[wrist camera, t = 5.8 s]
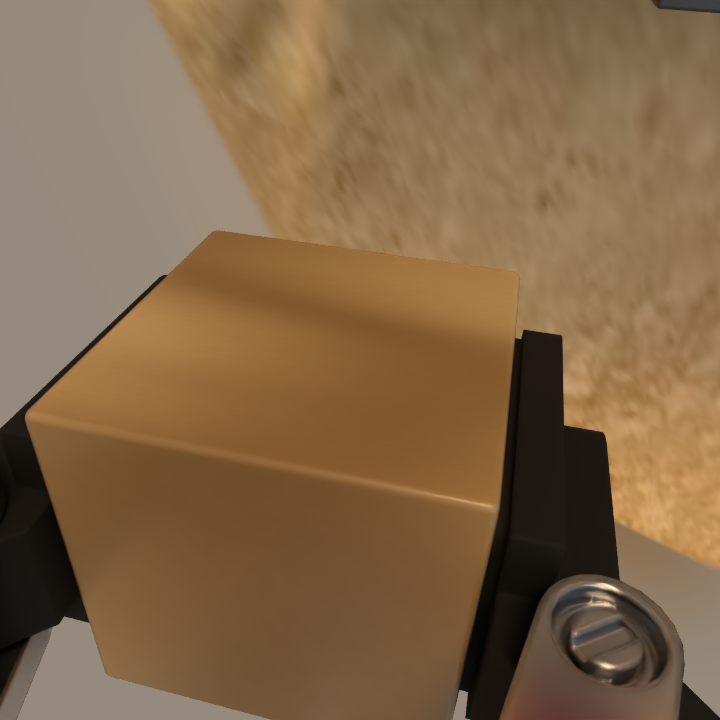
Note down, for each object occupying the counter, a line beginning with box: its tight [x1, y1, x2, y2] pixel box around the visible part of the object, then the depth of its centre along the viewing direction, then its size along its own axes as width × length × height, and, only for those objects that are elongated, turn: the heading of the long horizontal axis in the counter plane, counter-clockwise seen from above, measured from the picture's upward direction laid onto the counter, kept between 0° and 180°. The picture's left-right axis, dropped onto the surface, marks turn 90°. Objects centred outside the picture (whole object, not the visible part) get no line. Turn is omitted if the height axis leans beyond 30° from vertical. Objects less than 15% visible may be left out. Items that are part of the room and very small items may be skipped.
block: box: [25, 231, 520, 720], centre depth 9 cm, size 4×4×4 cm
